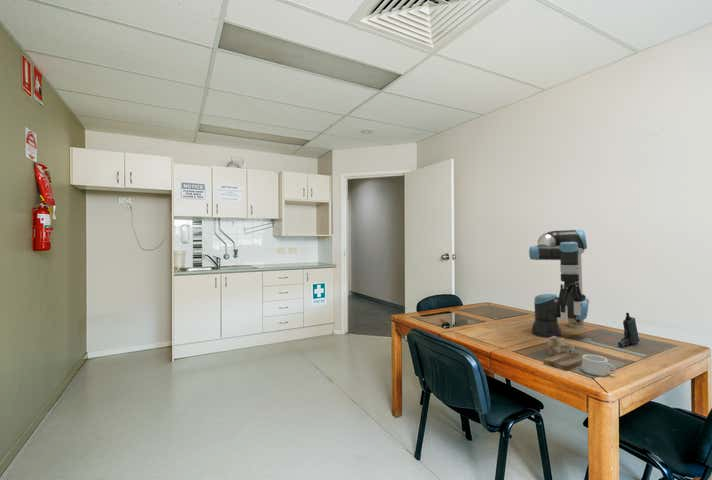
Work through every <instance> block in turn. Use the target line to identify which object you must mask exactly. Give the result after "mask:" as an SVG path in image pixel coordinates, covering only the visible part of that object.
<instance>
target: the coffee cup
mask: <svg viewBox="0 0 712 480" xmlns="http://www.w3.org/2000/svg"><path fill="white" fill-rule="evenodd" d="M567 320H568V322H567V323H568V327H569V328H575V329H583V328H584V325H585V323H584V322H585V319H584V320H582V319H577V320H576V319H569V318H568V319H567Z"/></svg>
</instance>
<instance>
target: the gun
mask: <svg viewBox="0 0 712 480" xmlns="http://www.w3.org/2000/svg"><path fill="white" fill-rule="evenodd" d="M625 315H626V316H625V319H624V320H623V321H622V322H623V323H622V324H623V330H624V331H623V335H624V337H623V338H621V339H620V341H618V342H617V345H618V348H621V349H623V348H624V346H626V347H628V346H629V345H631V346H635V345H636V344H637V343H639V342H641V340H640V338H639V333H638V328H637V324H636V322H637V321H636V318H635V317H632V316H630V313H629V312H625Z"/></svg>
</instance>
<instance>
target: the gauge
mask: <svg viewBox="0 0 712 480" xmlns="http://www.w3.org/2000/svg"><path fill="white" fill-rule="evenodd" d="M566 349H567V350H568V351H569V353H571V352H572V351H574V350H575V346H574V345H571V344H567V343H566V340H565V338H564V337H561V336H560V337H556V336H552V337H548V354H549V355H551V356H554V355H556V354H559V353H562V352H564V351H566Z"/></svg>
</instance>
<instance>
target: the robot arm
mask: <svg viewBox="0 0 712 480" xmlns="http://www.w3.org/2000/svg"><path fill="white" fill-rule="evenodd" d="M587 249H588V244H587V238H586V233H585V231H584V230H583V229H568V230H565V229H564V230H551V231H548V232H546V233H545V232H544V233H543V234H542V235H540V236H539V237H538V240H537V244H536V245H531V246H529V252H528V253H529V254H528V255H529V256H528V257H529V259H530V260H535V261H560V262H559V265H560V266H559V267H560V268H559V269H560V281H561V282H563V283H561V284H560V290H559V294H558V295H557V294H555V293H545V294H543V293H541V294H538V295H536V296H535V297H534V302H533V304H534V321H533V325H532V328H531V333H532V335H535V336H538V337H543V338H549V337H552V336H556V337H561V336H562V329H561V328H560V324H559V322H558V318H559V319H561V320H568V318H569V319H576V320H577V319H582V320H584V321H585V320H587V317H588V313H589V311H588V310H589V302H590V301H589V300H590V299H588V298H587V297H586V294H584V293H583V279H582V278H583V277H582V275H583V274H582V273H583V269H582V266H583V265H582V254H584V253H585V250H587Z"/></svg>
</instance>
